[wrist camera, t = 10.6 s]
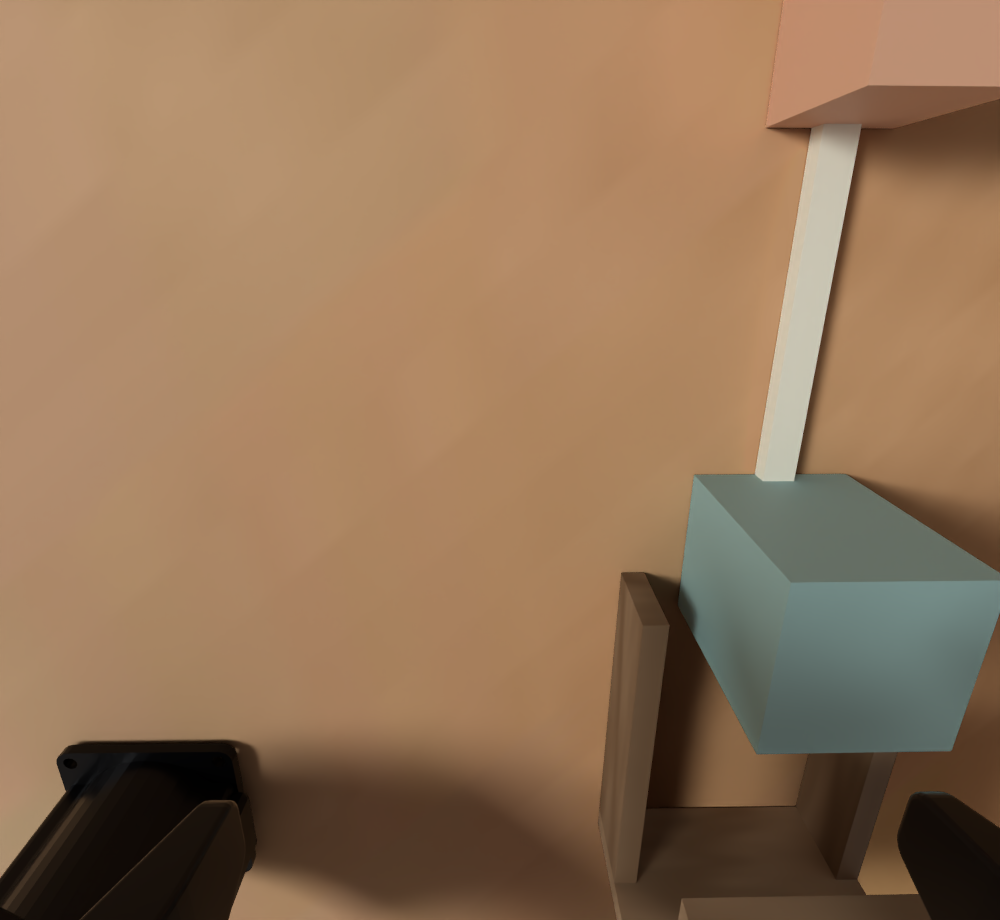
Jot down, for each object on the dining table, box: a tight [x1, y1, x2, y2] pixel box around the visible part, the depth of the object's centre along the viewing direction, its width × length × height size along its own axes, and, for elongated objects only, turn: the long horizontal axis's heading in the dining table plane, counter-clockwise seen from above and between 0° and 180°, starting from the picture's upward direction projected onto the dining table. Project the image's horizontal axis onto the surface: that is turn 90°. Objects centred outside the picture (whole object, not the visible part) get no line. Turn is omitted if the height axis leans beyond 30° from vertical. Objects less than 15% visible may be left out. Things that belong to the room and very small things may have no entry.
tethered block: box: [678, 0, 1000, 754], centre depth 15 cm, size 5×18×6 cm, turn 0°
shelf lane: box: [598, 573, 931, 920], centre depth 18 cm, size 9×12×9 cm
